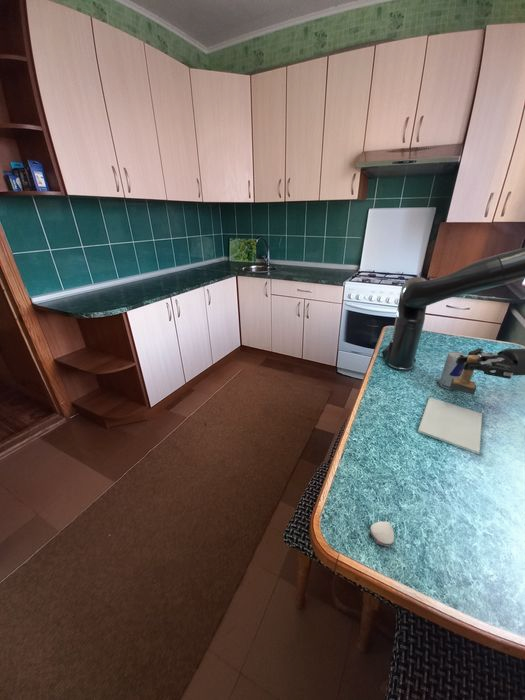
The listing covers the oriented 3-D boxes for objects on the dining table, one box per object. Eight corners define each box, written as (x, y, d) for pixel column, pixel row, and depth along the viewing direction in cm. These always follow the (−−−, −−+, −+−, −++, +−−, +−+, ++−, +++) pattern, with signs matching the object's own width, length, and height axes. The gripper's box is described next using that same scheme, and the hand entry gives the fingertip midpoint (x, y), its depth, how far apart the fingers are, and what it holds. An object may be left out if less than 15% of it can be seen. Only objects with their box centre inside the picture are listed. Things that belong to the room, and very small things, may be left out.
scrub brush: (449, 388, 86) (460, 356, 81) (450, 383, 88) (461, 352, 83) (473, 395, 83) (486, 361, 78) (474, 390, 85) (486, 357, 80)
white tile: (417, 432, 80) (418, 429, 80) (428, 399, 93) (429, 397, 93) (478, 454, 73) (479, 452, 72) (481, 415, 86) (482, 413, 85)
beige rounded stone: (365, 536, 55) (367, 528, 54) (377, 518, 59) (380, 510, 57) (387, 553, 53) (390, 545, 52) (399, 534, 56) (401, 526, 55)
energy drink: (459, 390, 97) (470, 359, 91) (441, 389, 98) (451, 358, 92) (453, 382, 101) (463, 351, 96) (436, 380, 102) (446, 350, 97)
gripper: (508, 339, 86) (449, 340, 86) (549, 362, 73) (481, 364, 73) (499, 361, 89) (443, 362, 89) (537, 387, 77) (472, 388, 77)
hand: (460, 363), depth 81 cm, fingers closed on scrub brush, 2 cm apart
